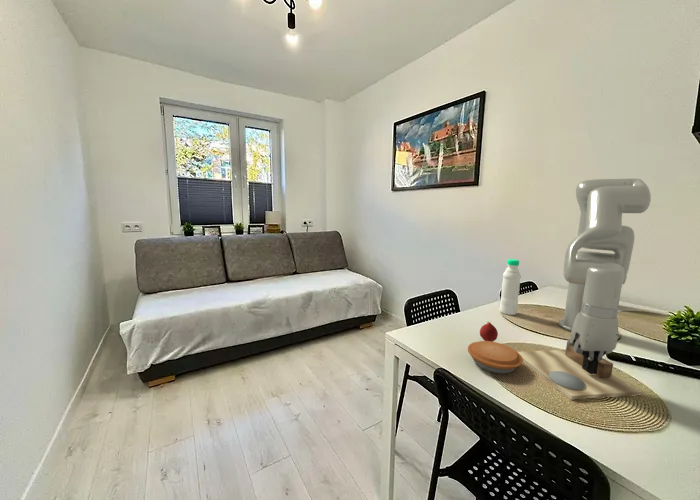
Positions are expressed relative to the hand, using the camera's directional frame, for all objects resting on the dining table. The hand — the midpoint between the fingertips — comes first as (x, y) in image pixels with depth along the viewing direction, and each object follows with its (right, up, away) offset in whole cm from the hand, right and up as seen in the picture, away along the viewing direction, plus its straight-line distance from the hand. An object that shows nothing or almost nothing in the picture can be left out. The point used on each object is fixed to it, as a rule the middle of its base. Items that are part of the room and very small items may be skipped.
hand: (589, 371), depth 82 cm
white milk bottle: (+4, +6, +50) cm, 51 cm away
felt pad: (-9, -2, -3) cm, 9 cm away
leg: (+3, 0, +5) cm, 6 cm away
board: (-3, -2, +3) cm, 5 cm away
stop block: (+5, -1, +2) cm, 6 cm away
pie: (-24, -1, +8) cm, 25 cm away
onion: (-19, +1, +21) cm, 29 cm away
